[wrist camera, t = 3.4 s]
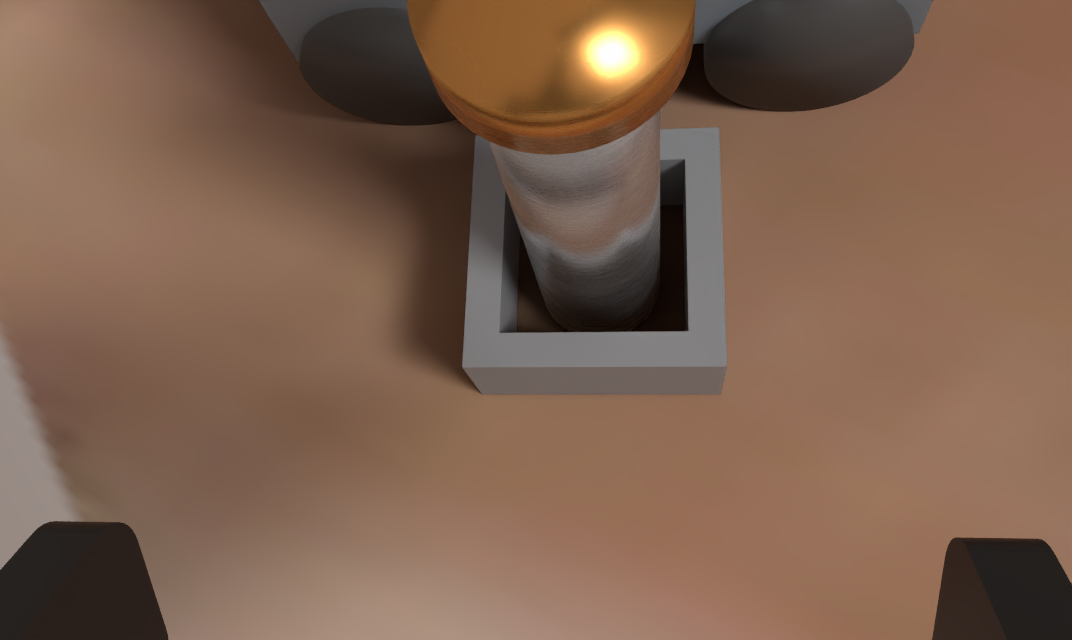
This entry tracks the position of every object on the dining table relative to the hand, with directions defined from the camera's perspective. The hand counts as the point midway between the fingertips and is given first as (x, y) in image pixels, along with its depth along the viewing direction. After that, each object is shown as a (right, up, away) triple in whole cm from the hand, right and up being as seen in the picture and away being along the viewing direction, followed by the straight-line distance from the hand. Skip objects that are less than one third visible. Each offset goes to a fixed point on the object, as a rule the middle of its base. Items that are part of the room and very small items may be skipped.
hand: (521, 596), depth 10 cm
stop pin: (+2, +4, +15) cm, 15 cm away
